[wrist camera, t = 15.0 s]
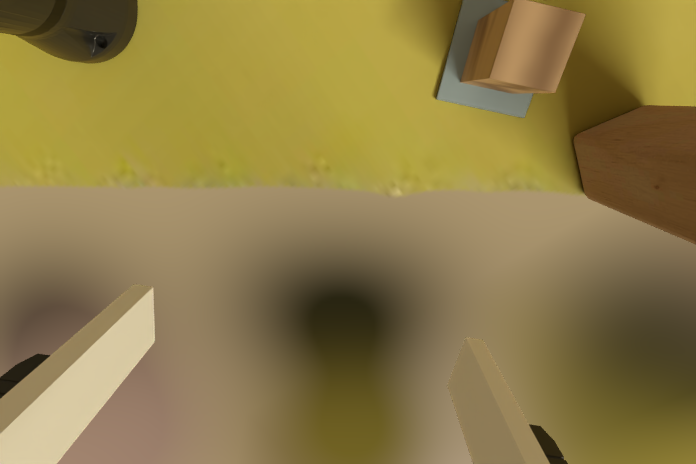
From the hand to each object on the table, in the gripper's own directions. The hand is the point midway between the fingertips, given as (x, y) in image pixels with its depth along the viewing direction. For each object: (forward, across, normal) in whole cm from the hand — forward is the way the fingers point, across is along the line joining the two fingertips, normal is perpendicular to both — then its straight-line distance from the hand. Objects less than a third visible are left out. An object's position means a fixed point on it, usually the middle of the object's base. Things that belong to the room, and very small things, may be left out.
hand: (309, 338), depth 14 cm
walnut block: (+36, +17, +17) cm, 43 cm away
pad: (+37, +17, +17) cm, 44 cm away
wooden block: (+37, +37, +9) cm, 53 cm away
